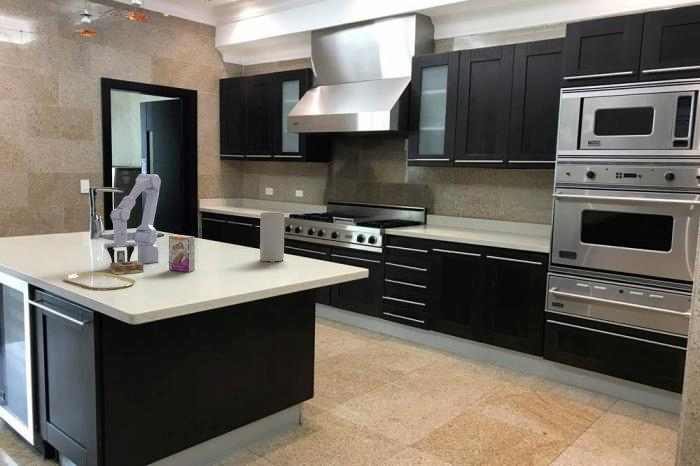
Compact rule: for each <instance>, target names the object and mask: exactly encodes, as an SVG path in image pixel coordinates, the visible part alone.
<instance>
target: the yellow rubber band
mask: <svg viewBox="0 0 700 466" xmlns="http://www.w3.org/2000/svg"><path fill="white" fill-rule="evenodd" d="M85 275H89V276H101V275H104V276H103V277H108V276H109V277H108V278H111V277H113V278H112V279H115V278H117V279H116V280H119V279H120V281H123V282H127V281H128V282H127V283H129V284H127V285H126V284H125V285H119V286H110V287H108V286H107V287H106V286H105V287H104V286H102V287H101V286H99V287H96V286H89V285H86V284H83V283H79V282H76V281H74V280H71V279H74V278H77V277H78V276H79V277H86V276H85ZM64 280H65V281H66V282H67V283H70V284H74V285H77V286H81V287H83V286H84V288H86V289H87V288H88V289H90V288H92V289H91V290H97V289H112V290H118V289H117V288H121V289H126V288H129V286H130V287H132V286H133V285H134V284H135V283H136V280H135V279H133V278H129V277H125V276H121V275H119V274H115V273H110V272H104V271H103V272H102V271H101V272H99V271H96V272H95V271H94V272H93V271H92V272H91V271H90V272H79V273H73V274H68V275H66V276H65V277H64ZM131 283H132V284H131ZM125 287H126V288H125Z"/></svg>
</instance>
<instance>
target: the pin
mask: <svg viewBox="0 0 700 466" xmlns="http://www.w3.org/2000/svg"><path fill="white" fill-rule="evenodd" d="M125 252H126V251H125V250H119V249H118V250H116V263H117V262H126V253H125Z"/></svg>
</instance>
